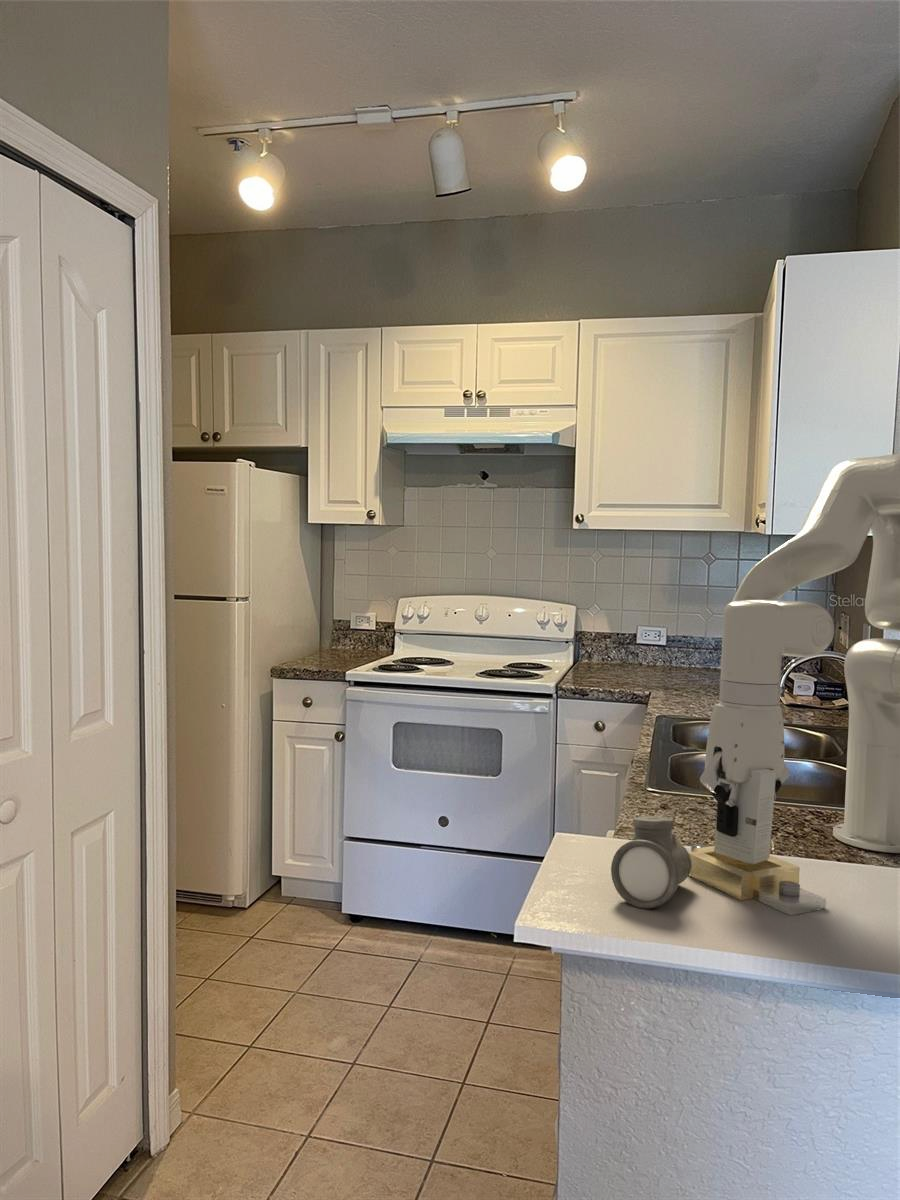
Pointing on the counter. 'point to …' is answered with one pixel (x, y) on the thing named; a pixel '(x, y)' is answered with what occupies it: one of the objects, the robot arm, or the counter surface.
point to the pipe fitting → (650, 863)
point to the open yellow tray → (754, 880)
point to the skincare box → (751, 820)
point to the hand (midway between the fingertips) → (743, 830)
